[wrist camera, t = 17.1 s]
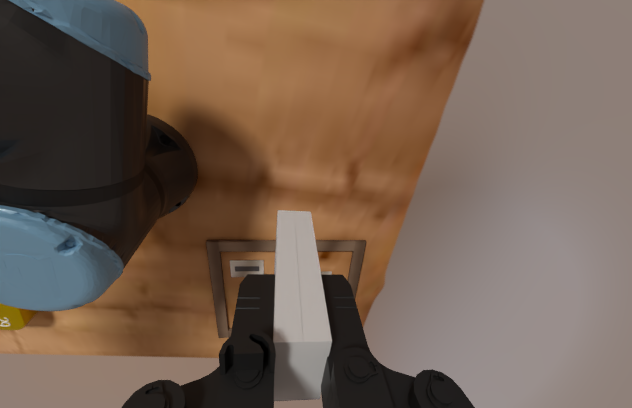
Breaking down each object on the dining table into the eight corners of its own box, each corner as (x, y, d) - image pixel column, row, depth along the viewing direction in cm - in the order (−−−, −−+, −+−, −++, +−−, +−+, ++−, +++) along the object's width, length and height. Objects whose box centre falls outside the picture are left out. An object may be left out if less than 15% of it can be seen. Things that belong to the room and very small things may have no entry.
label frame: (219, 335, 61) (218, 337, 60) (206, 240, 49) (206, 242, 48) (347, 330, 64) (348, 332, 64) (365, 240, 52) (366, 242, 52)
